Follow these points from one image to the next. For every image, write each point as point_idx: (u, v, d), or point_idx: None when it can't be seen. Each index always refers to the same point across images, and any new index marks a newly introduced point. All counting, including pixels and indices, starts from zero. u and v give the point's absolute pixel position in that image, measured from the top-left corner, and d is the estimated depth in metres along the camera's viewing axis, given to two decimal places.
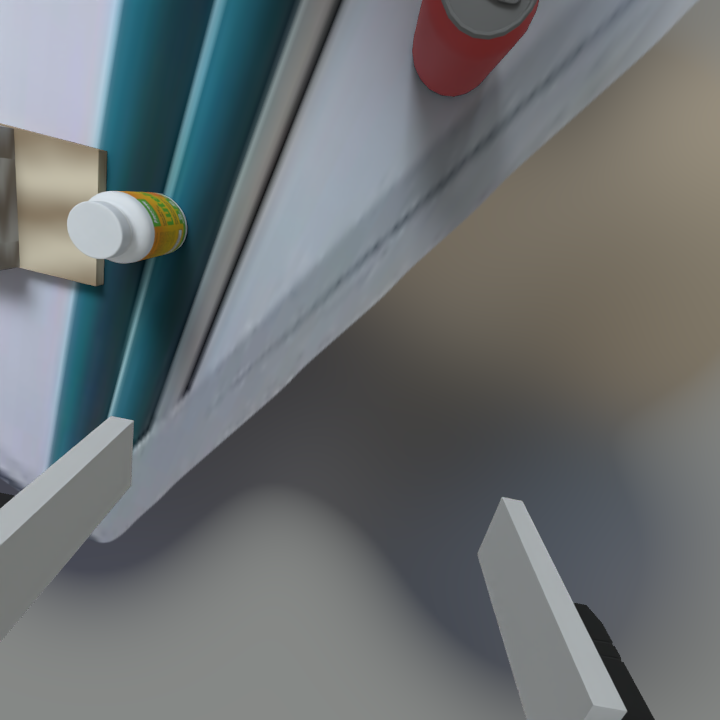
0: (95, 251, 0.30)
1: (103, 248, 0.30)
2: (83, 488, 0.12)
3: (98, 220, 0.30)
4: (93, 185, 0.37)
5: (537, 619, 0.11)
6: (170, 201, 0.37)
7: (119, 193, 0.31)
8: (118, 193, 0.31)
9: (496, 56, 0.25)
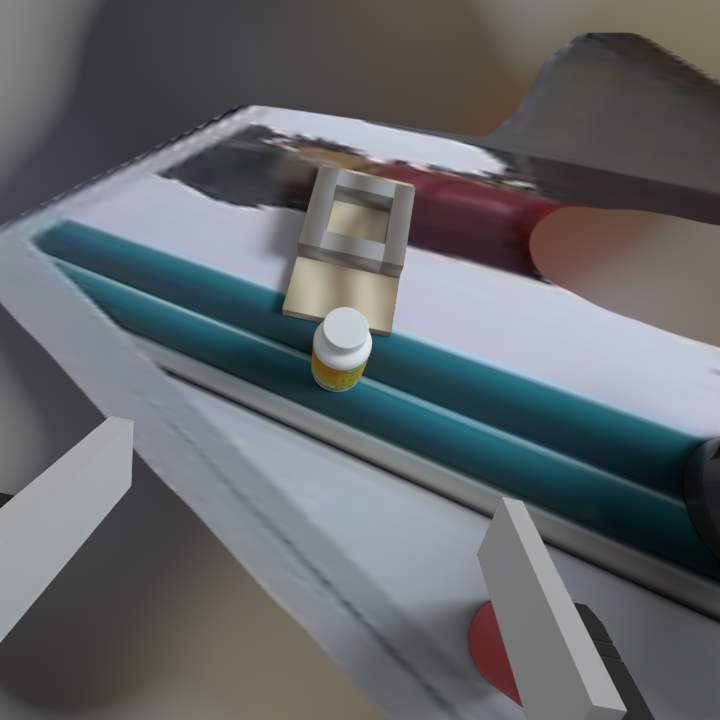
0: (329, 324, 0.36)
1: (332, 331, 0.35)
2: (83, 488, 0.12)
3: (354, 331, 0.36)
4: None
5: (537, 619, 0.11)
6: (357, 381, 0.43)
7: (370, 347, 0.38)
8: (370, 347, 0.38)
9: None
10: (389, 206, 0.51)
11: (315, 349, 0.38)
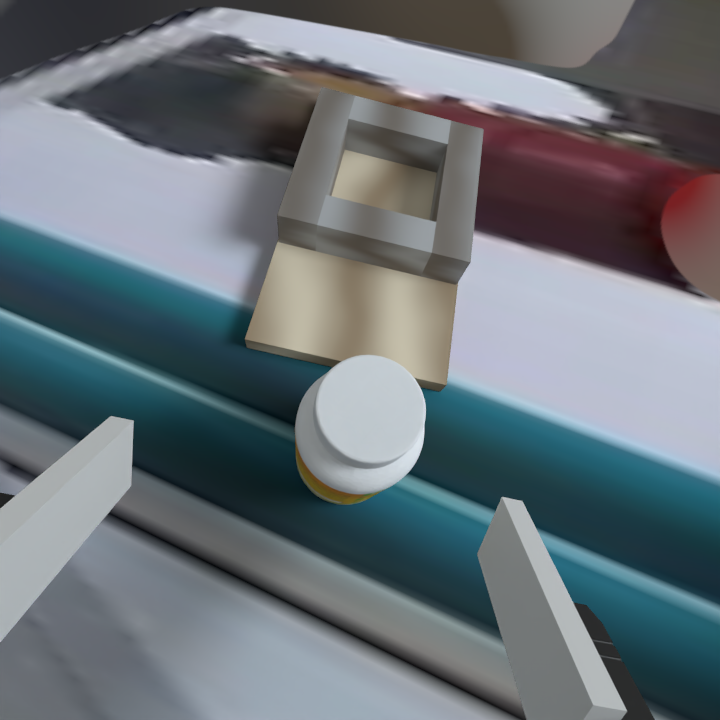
0: (331, 399, 0.15)
1: (337, 417, 0.14)
2: (83, 488, 0.12)
3: (392, 418, 0.15)
4: None
5: (537, 619, 0.11)
6: None
7: (422, 441, 0.17)
8: None
9: None
10: (438, 161, 0.30)
11: (299, 446, 0.17)
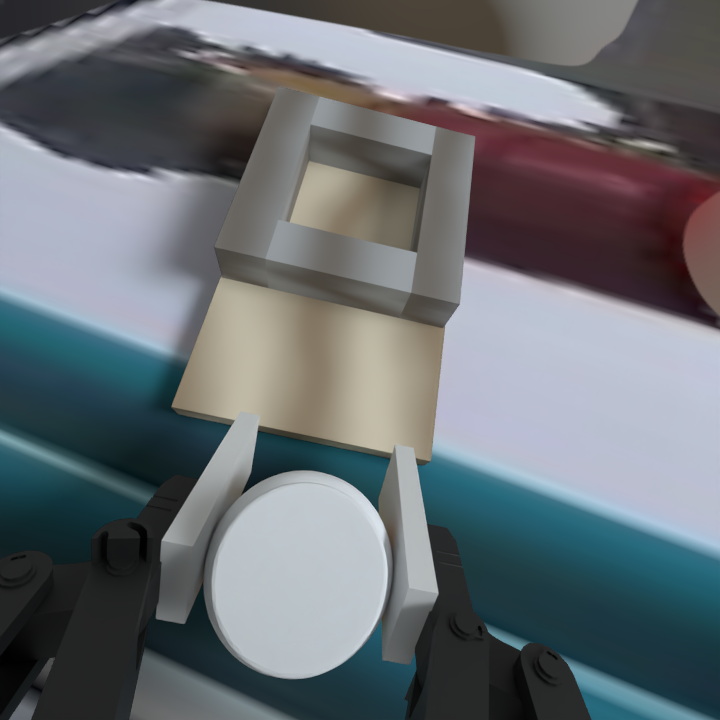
0: (236, 566, 0.09)
1: (245, 598, 0.09)
2: (237, 472, 0.14)
3: (334, 593, 0.09)
4: (369, 439, 0.19)
5: (396, 536, 0.13)
6: None
7: (390, 588, 0.12)
8: (390, 587, 0.12)
9: None
10: (421, 174, 0.25)
11: None
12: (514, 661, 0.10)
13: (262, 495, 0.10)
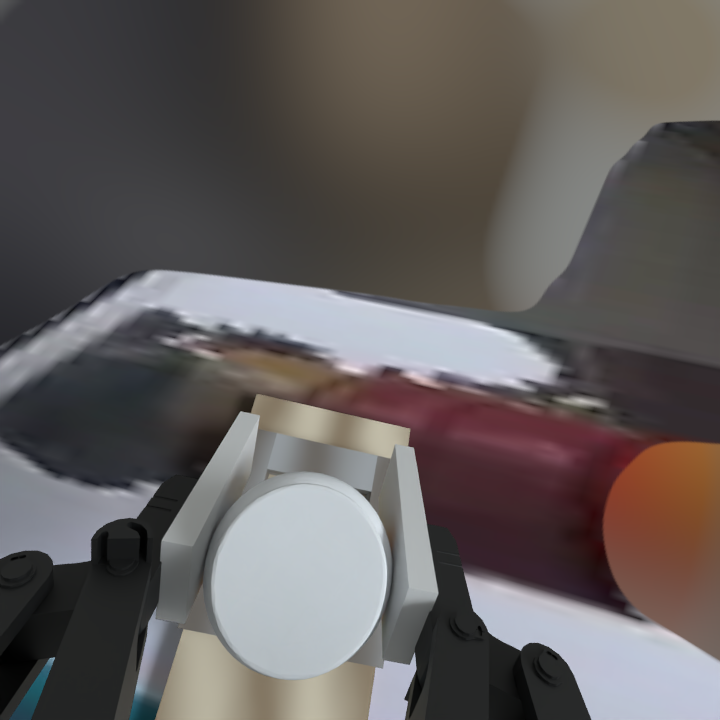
0: (236, 567, 0.09)
1: (245, 599, 0.09)
2: (237, 472, 0.14)
3: (333, 594, 0.09)
4: None
5: (396, 536, 0.13)
6: None
7: (389, 589, 0.12)
8: (389, 588, 0.12)
9: None
10: (365, 493, 0.29)
11: None
12: (514, 661, 0.10)
13: (262, 496, 0.10)
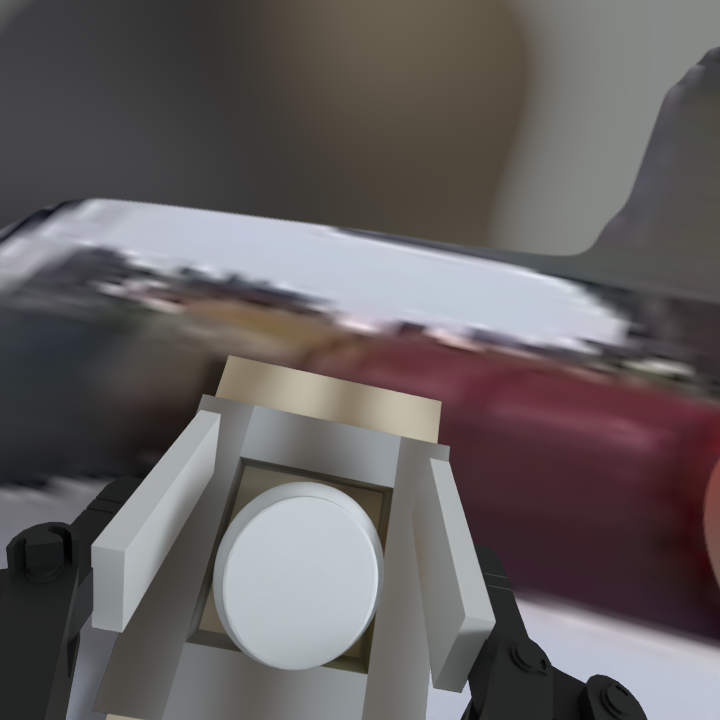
0: (244, 571, 0.10)
1: (252, 600, 0.10)
2: (190, 472, 0.13)
3: (330, 595, 0.11)
4: None
5: (441, 557, 0.12)
6: None
7: (381, 589, 0.13)
8: (381, 588, 0.13)
9: None
10: (383, 490, 0.20)
11: None
12: (579, 691, 0.10)
13: (266, 508, 0.11)
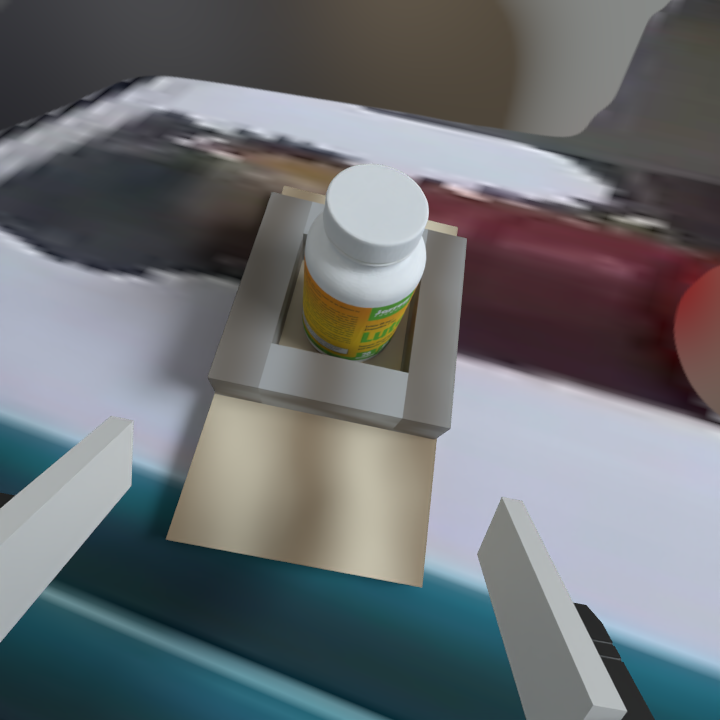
0: (340, 194, 0.16)
1: (347, 208, 0.15)
2: (83, 488, 0.12)
3: (398, 212, 0.16)
4: (361, 566, 0.20)
5: (537, 619, 0.11)
6: (387, 342, 0.23)
7: (424, 263, 0.18)
8: (425, 262, 0.18)
9: None
10: None
11: (309, 263, 0.18)
12: None
13: None
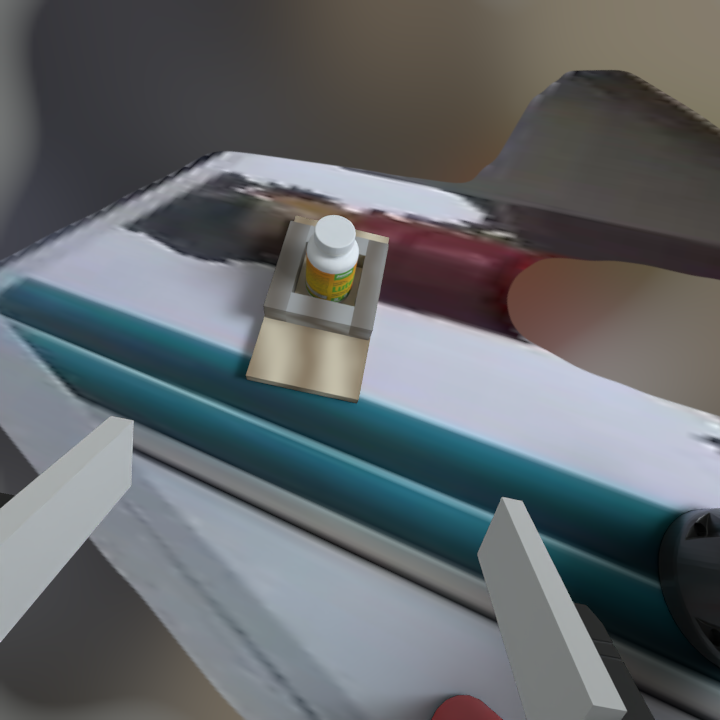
0: (320, 228, 0.40)
1: (323, 233, 0.40)
2: (83, 488, 0.12)
3: (343, 235, 0.40)
4: (331, 390, 0.44)
5: (537, 619, 0.11)
6: (346, 294, 0.48)
7: (358, 255, 0.43)
8: (358, 254, 0.43)
9: None
10: (362, 262, 0.50)
11: (308, 255, 0.42)
12: None
13: (325, 216, 0.41)
